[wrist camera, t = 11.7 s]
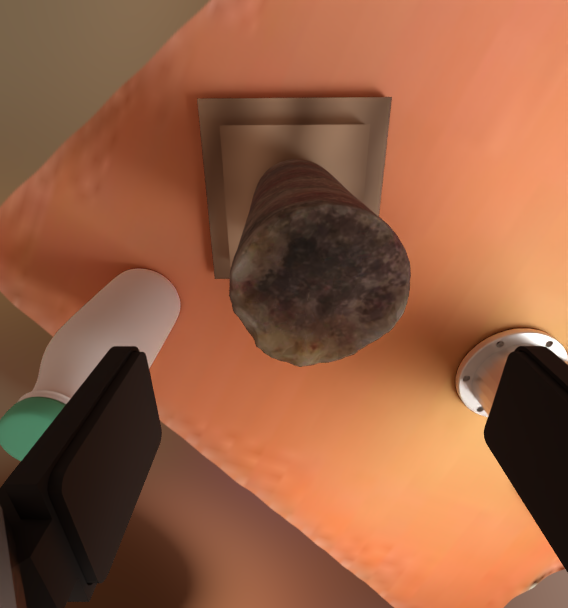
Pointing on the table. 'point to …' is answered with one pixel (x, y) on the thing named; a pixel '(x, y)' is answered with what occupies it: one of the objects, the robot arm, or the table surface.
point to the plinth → (284, 115)
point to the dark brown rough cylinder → (315, 268)
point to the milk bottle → (92, 349)
